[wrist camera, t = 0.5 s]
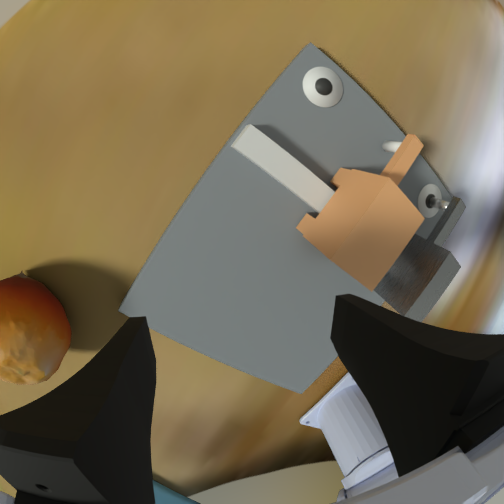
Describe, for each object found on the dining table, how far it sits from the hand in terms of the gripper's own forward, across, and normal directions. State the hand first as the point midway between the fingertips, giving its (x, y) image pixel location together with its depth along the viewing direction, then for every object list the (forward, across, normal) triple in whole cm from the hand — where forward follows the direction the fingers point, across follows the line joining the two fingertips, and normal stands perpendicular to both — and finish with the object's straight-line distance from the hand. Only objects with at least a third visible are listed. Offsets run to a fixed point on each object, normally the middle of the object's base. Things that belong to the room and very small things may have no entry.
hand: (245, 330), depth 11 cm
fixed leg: (+9, -14, 0) cm, 17 cm away
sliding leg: (+9, -9, -4) cm, 13 cm away
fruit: (+10, +15, +4) cm, 19 cm away
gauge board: (+10, -6, +1) cm, 12 cm away
